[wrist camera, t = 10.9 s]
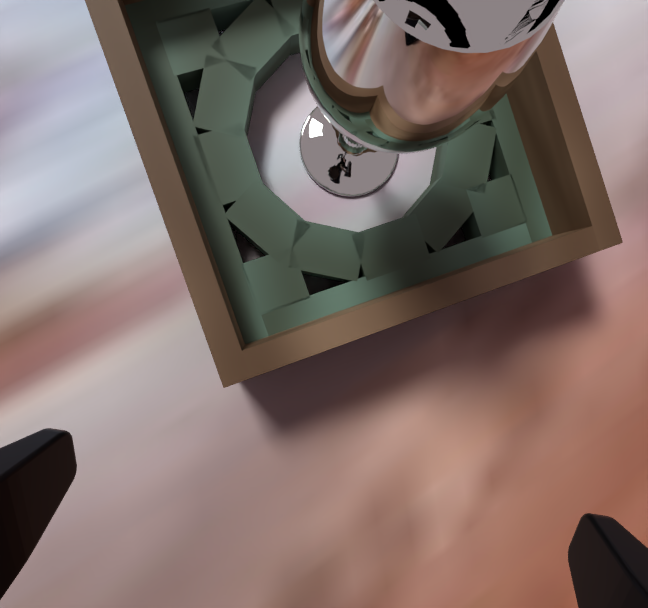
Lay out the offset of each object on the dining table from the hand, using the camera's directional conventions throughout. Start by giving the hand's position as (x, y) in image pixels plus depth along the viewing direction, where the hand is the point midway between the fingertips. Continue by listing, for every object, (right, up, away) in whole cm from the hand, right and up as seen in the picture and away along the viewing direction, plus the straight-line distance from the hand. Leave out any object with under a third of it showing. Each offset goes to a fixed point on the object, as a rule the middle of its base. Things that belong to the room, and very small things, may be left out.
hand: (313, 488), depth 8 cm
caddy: (+1, +11, +12) cm, 16 cm away
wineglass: (+1, +10, +13) cm, 16 cm away
